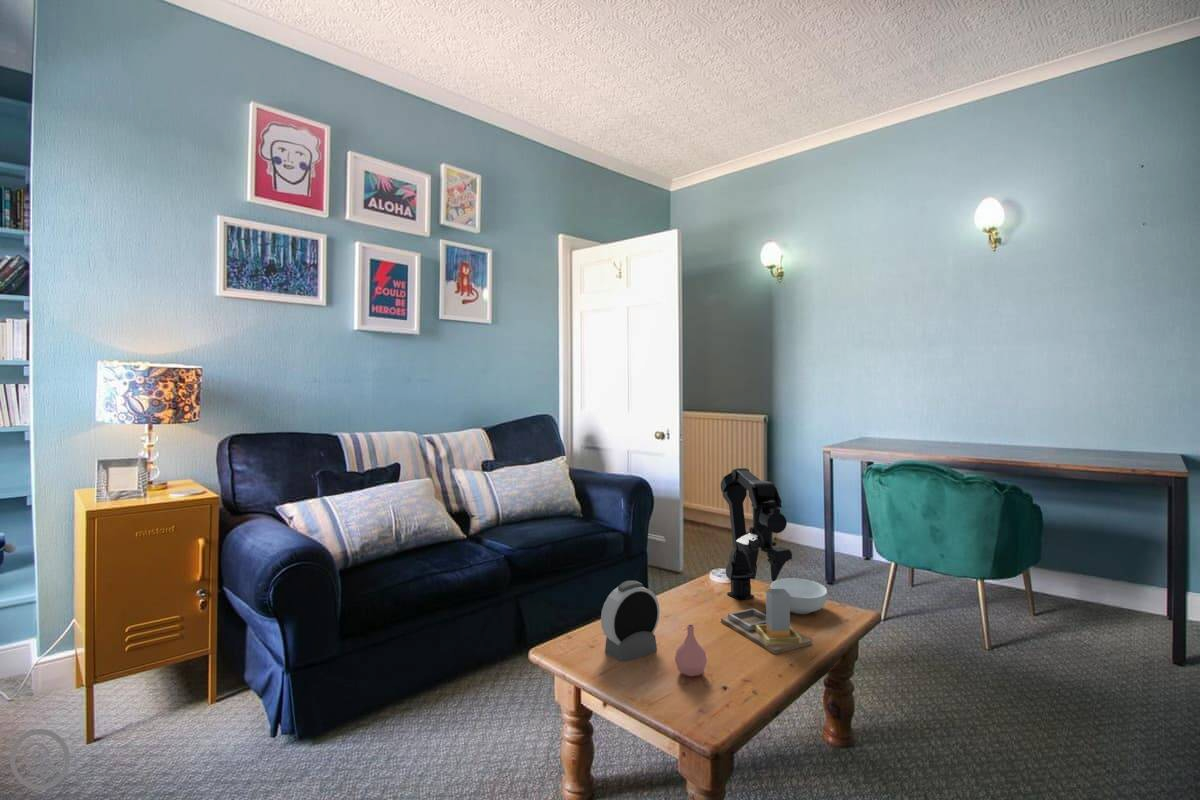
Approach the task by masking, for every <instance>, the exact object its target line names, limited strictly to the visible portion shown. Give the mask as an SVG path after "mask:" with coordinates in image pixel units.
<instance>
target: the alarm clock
mask: <svg viewBox="0 0 1200 800" xmlns="http://www.w3.org/2000/svg"><path fill="white" fill-rule="evenodd" d="M660 614H661V613H660V604H659V600H658V598H657V596H656V595H655V593H654V592H653V591H651V590H650V589H648V588H646V587H644V586H643V583H641V582H639V581H637V580H625V581H623V582H621V583H620V584H619V585H618V586H617V587H616V588H614V589H613V590H612V591H611V592H610V593H609V595H608V596H607V597H606V600H605V601H604V603H603V606H602V609H601V615H600V622H601V625H600V626H601V629H602V632H603V634H604V635H605V637H606V638H605V639H606V640H605V641H606V642H605V647H604V652H606V654H608V655H609V656H611V657H612V658H614V659H615V660H617V661H619V662H627V661H633V660H638V659H640V658H641V659H642V658H645V657H646V656H649V655H651V654H652V653H654V652H656V651H657V650H658V647H657V639H656V635H655V634H654V633H655V631H656V629H657V627H658V624H659V620H660Z"/></svg>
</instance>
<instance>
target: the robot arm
mask: <svg viewBox="0 0 1200 800" xmlns="http://www.w3.org/2000/svg"><path fill="white" fill-rule="evenodd" d="M720 490H721V492H722V496H723V499H724V500H725V502H726V504H728V507H729V508H728V509H729V519H730V526H731V527H730V528H731V538H732V546H733V547H732V548H733V549H732V550H731V553H730V555H729V562H728V563H727V566H726V568H725V577H727V578H728V580H729V581H730V591H728V592H726V594H727V595H728V596H730V597H732V598H734V599H736V600H738V601H743V600H746V599H751V598H754V597H755V595H754V594H752V584H751V580H756V575H757V569H758V565H757V562H758V556H759V552H760V551H761V552H764V553H767V554H766V555H767V559H766V561H767V562H768V563H769V565H770V577H771V581H772V582H774V581H776V580H778V579H777V578H778V577H779V575H780V573H781V570H782V569H783V567H784V566H785V565H786V562H789V561H790V560H792V559H793V552H792V550H791V549H790V548H787V547H783V546H777V542H776V541H774V534H781V533H782V532H784V530H785V529H786V527H787V524H788V522H787V518H786V517H785V516H784V515H783V514H782V513H781V510H780V508H782V499H781V497H780V494H779V492H778V489H777V487H776V485H775V484H774V483H773V482H771V481H768V480H767V481H766V480H761V479H759V478H758V477H757V476H756V475H754V474H753V473H752V472H750V470H749V468H746V467H744V468H739V467H738V468H737V467H735V468H734V469H732V471H731V472H730V473H728V474H726V475H724V476H723V478H722V480H721V481H720ZM747 491H748V493H747ZM747 495H748V497H749V499H750V501H751V507H752V526H749V529H748V530H749V531H748V533H747V529H746V528H747V527H746V517H745V510H744V501H745V500H746V497H747ZM775 546H776V547H775Z"/></svg>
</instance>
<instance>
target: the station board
mask: <svg viewBox="0 0 1200 800" xmlns="http://www.w3.org/2000/svg"><path fill="white" fill-rule="evenodd" d="M720 622H721V623H722V624H724V625H726V626H727V627H729V628H730V629H732V630H734V631H736V632H737V633H739V634H740V635H743V636H744V637H745V638H747V639H748V640H751V641H752V642H754V643H755V644H757V645H759V646H760V647H762V648H764V649H765V650H767V651H769V652H771V653H772V654H774V655H777V654H780V653H783V652H788V651H792V650H796V649H798V648H803V647H806V646H810V645H812V644H813V641H812V639H809V638H808V637H806V636H804V635H803V634H800V633H798V632H797V631H796V630H795V629H794V628H793V626H791V625H790V637H784V638H770V637H769V636H768V635H767V634H766V613H764V612H761V611H760V610H758V609H756V608H754V607H753V608H748V609H743V610H740V611H734V612H730V613H728V614H727V616H726V617H725V616H724V617H722V618H720Z"/></svg>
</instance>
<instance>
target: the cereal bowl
mask: <svg viewBox="0 0 1200 800" xmlns="http://www.w3.org/2000/svg"><path fill="white" fill-rule="evenodd" d="M770 589H785V590H786V591H787V592H788V593H789V594H790V613H792V614H797V615H808V614H810V613H813V612H817V611H818V610H821V609H822V608H823V607H824V606H825V604H826V603H827V600H828V590H827V588H826V587H825V586H824V584H823V585H822V584H820V583H819V582H816V581H813V580H810V579H803V578H798V577H797V578H796V577H795V578H794V577H793V578H789V577H788V578H779V579H776V580H775V581H772V582H771V584H770Z"/></svg>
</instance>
